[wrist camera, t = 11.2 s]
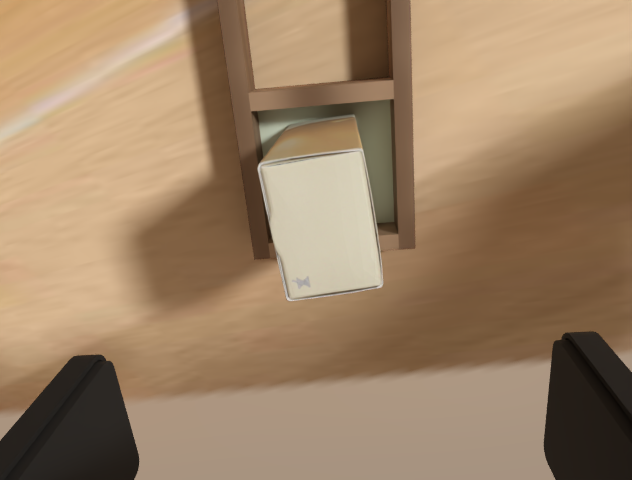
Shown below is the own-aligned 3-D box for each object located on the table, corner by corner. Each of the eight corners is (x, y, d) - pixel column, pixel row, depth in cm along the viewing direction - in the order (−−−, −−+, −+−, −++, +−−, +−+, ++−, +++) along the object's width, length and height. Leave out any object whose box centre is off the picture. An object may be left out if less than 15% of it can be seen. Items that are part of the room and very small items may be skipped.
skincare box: (369, 207, 33) (388, 296, 21) (303, 218, 33) (287, 310, 22) (354, 107, 30) (366, 145, 19) (283, 119, 31) (253, 164, 19)
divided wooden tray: (401, -104, 27) (408, -118, 24) (409, 234, 33) (415, 248, 31) (214, -83, 27) (203, -95, 25) (259, 244, 34) (254, 259, 32)
